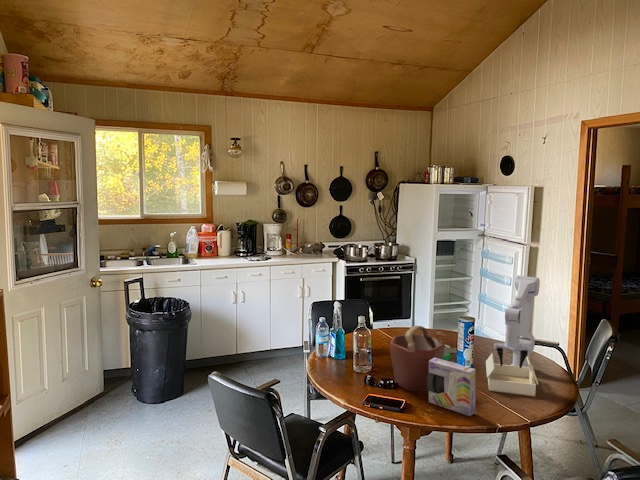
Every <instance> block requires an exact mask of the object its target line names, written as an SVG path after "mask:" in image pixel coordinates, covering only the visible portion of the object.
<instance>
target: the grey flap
mask: <svg viewBox="0 0 640 480" xmlns="http://www.w3.org/2000/svg"><path fill="white" fill-rule="evenodd" d="M494 364H495V360H494V354H493V352H491V354H490V355H489V356H488V358H487V359H486V360H485V368H486V369H485V370H486V371H485V372H486V378H487V379H488V378H489V377H490V375H491V374H492V373H493V371H494V370H495V366H494Z"/></svg>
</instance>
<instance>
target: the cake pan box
mask: <svg viewBox="0 0 640 480" xmlns="http://www.w3.org/2000/svg"><path fill="white" fill-rule="evenodd" d="M476 372H477V371H476V368H472V367H469V366H465V365H461V364H459V363H457V362H455V363H453V362H449V361H445V360H442V359H438V358H433V359H431V360H429V373H428V375H427V387H428V403H431V404H434V405H436V406H439V407H442V408H445V409H448V410H451V411H454V412H456V413H459V414H462V415H465V416H467V417H471V416H473V415H475V414H476Z"/></svg>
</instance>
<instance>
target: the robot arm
mask: <svg viewBox="0 0 640 480" xmlns="http://www.w3.org/2000/svg"><path fill="white" fill-rule="evenodd" d="M540 281H541V280H540V278H539V277H535V276H534V277H533V276H523V275H517V276H516V277H515V280H514V286H515V290H516V296H513V297H512V299H511V301H510V304H509V307H508V308H506V309H505V312H504V324H505V339H504V342H503V343H498V342H497V343H493V349H494V350H496V352H497V354H498V357H499V362H500V363H499V364H500V365H501V366H502V365H504V364H503V358H504V357H503V356H504V350H506V351H507V350H509V351H512V363H510V365H512V366H519V367H520V368H522V367H529V364H528V361H527V358H526V357H528V359H529V361H530V360H531V359H530V358H531V353H532V354H533V352H534V350H535V339H536V338H535V336H534V335H533V334H532V332H530V326H531V325H530V324H531V317H532V316H531V315H532V309H533V301H534V299H535V298H534V297H536V296H538V295H539V293H540V284H541V282H540ZM530 362H531V361H530Z"/></svg>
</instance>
